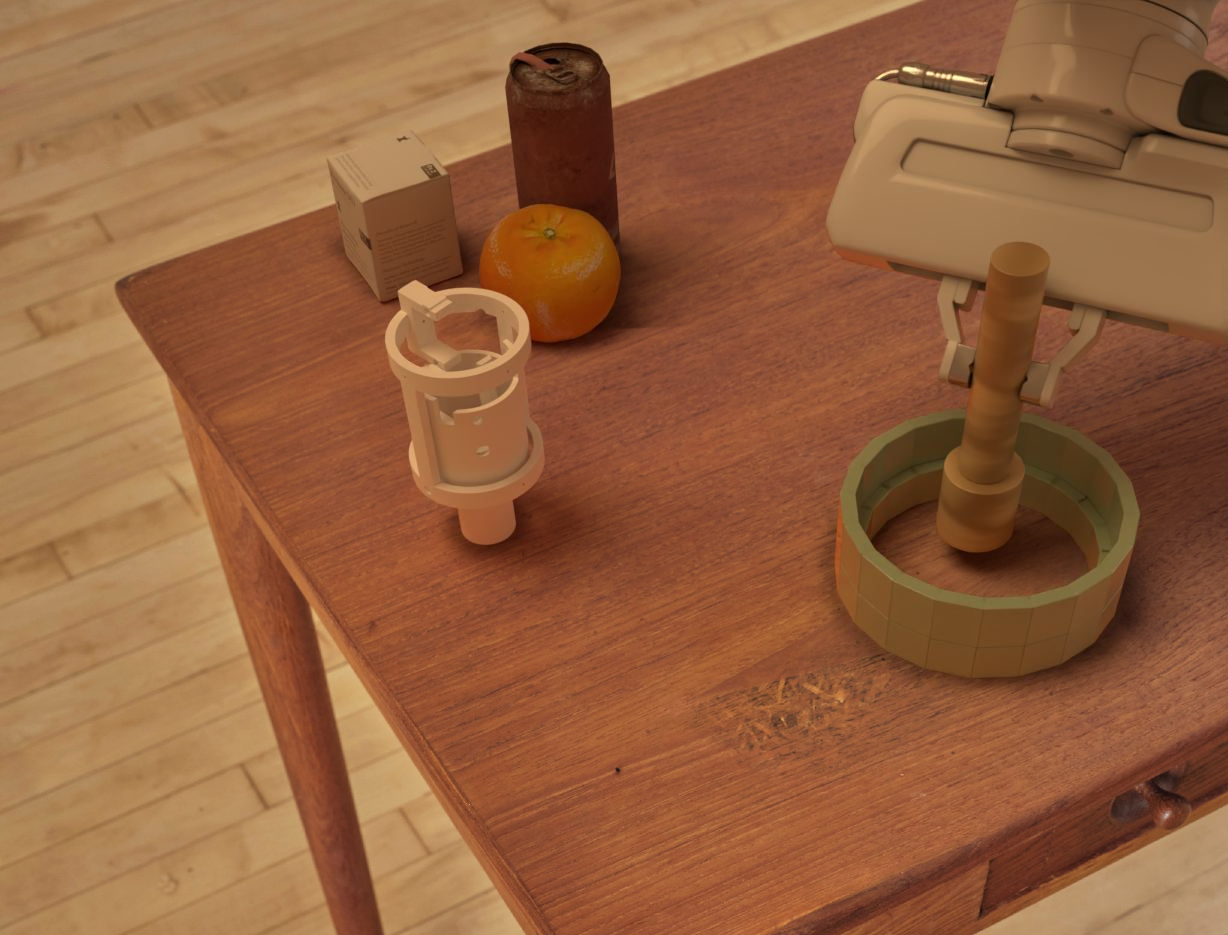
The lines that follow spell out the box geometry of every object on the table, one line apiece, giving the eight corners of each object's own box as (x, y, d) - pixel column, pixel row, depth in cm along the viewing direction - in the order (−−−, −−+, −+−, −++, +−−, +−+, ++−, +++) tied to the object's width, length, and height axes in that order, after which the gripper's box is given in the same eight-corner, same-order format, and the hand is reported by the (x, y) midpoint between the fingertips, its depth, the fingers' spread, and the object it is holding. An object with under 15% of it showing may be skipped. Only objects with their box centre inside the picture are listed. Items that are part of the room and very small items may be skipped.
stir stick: (1007, 498, 84) (1058, 229, 72) (1018, 551, 82) (1073, 283, 69) (931, 501, 85) (969, 233, 72) (940, 554, 82) (980, 287, 69)
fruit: (600, 342, 93) (561, 201, 90) (478, 369, 97) (437, 235, 94) (655, 309, 100) (621, 177, 97) (538, 336, 104) (502, 210, 101)
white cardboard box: (345, 258, 105) (322, 155, 99) (428, 229, 107) (411, 125, 101) (381, 305, 102) (360, 201, 96) (466, 274, 104) (451, 170, 98)
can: (545, 239, 105) (523, 30, 94) (635, 256, 104) (624, 44, 92) (509, 293, 102) (482, 83, 91) (601, 311, 100) (585, 99, 89)
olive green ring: (1089, 488, 88) (1110, 401, 84) (1138, 687, 80) (1165, 603, 75) (825, 498, 89) (830, 413, 84) (845, 696, 80) (853, 613, 76)
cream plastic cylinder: (492, 479, 92) (457, 250, 80) (580, 534, 88) (556, 305, 76) (401, 544, 89) (350, 317, 77) (488, 604, 86) (449, 377, 74)
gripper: (860, 30, 73) (775, 333, 76) (1320, 113, 67) (1209, 438, 70) (885, 76, 79) (805, 355, 82) (1310, 155, 73) (1208, 454, 76)
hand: (994, 394), depth 76 cm, fingers closed on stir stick, 2 cm apart
